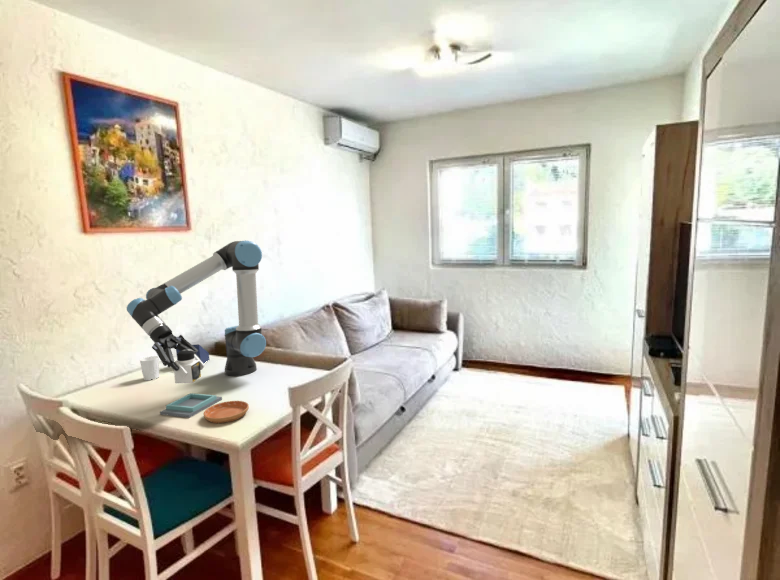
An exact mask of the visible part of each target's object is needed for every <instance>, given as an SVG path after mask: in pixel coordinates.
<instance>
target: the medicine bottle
mask: <svg viewBox="0 0 780 580" xmlns="http://www.w3.org/2000/svg"><path fill="white" fill-rule="evenodd" d="M177 358H178V362H179V364H180V365H181V366H182V367H183V368H184V369H185V370H186V371H187V374H186V376H185V377H184V378H182V377H181V375H180V374H179V373H178V372H177V371H175V370H174V369H173V374H174V383H175V384H190V383H191V384H192V383H194V382H196V381H197V380H199V379H200V378H201V377H202V374H201V373H202V371H201V370H200V362H199V360H195V357H194V351H193V350H182V351H180V352H178V353H176V359H177Z"/></svg>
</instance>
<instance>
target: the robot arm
mask: <svg viewBox="0 0 780 580" xmlns="http://www.w3.org/2000/svg"><path fill="white" fill-rule="evenodd" d="M262 252H263V251H262V249H261V247H260V246H259V245H258V244H257V243H256V242H254V241H250V240H245V239H244V240H236V241H235V240H234V241H231V242H229V243H228V244H226V245H224V246H223V247H221V248H220V249H218V250H216V251H214V252H213V253H212V256H210V257H208V258H207V259H205V260H203V261H201V262H199V263H197V264H196V265H194V266H192V267H190V268H188V269H187V270H185V271H183V272H181V273H180V274H178V275H176V276H175V277H173V278H171V279H169V280H167V281H165V282H163V283H162V284H160V285H158V286H157V287H152V288H150V289H149V290H148V291H146V293H145V299H144V298H142V297H137V298H134V299H133V300H131V301H130V302H128V304H127V305H126V312H128V314H129V315H130V317H131V318H132V319H133V320H134V321H135V322H136V324H137V325H138V326H139V327H140V328H141V329H142V330H143V331H144V333H146V335H147V336H149V338H150V339H151V340H152V341H153V342H154V343H153V345H152V346H151V349H152V350H153V351H154V352H155V353H156V355H157V357H158V359H159V360H160V362H161V363H162V365H163V366H165V367H166V366H167V367H168V368H172V369H173V371H174V370H175V371H177V372H178V373H179V374H180V375H181V377H182V378H184V377H185V376H186V374H187V371H186V370H185V369H184V368H183V367H182V366H181V365H180V364H179V362H178V361H177V360H175V359H174V355H173V351H172V349H174V350H176V349H178V350H180V351H182V350H193V351H194V357H195V360H199V362H200V371H201V370H203V369H204V367H205V366H206V364H204V363H203V362H202V361H201V359H200V358H199V357H198V356H197V355H196V353H197V352H198V350H197V349H196V348H195V347H194V346H193V345H194V344H192V343H190V342H189V341H188V340H187V339H186V338H185V337H184V336H183V335H182V334H180V335H178V336H175V335H174V334H173V331H172V329H171V328H170V327H169V326H168V325H167V324H166V322H165V321H164V320H163V319H162V318H161V317H160V316H159V315H160V314H162V313H164V312H165V311H167V310H168V309H170V308H172V307H173V306H175V305H177V304H178V303H179V302H181V301H182V300H183V297H182V293H184V292H186V291H187V290H189V289H191V288H193V287H194V286H196V285H198V284H199V283H202V282H203V281H206V279H208V278H210V277H212V276H213V275H215V274H216V273H219V272H220V271H222V270H223V271H226V270H229V269H230V268H232V270H231V271H232V272H234V274H235V275H236V293H237V297H236V298H237V310H238V311H237V315H238V316H237V317H238V325H235V326H230V327H226V328H225V329H224V340H225V342H224V343H225V349H226V362H225V366H224V374H225V375H226V376H231V377H233V376H234V377H237V376H245V375H248V374H251V373H254V372H255V371H257V369H258V368H257V363H256V361H255V359H254V358H255V357H258V356H260V355H261V354H263V353H264V351H265V350H266V347H267V340H266V337H265V336H264V335H263V329H262V326H261V325H260V324H259V318H258V316H259V315H258V296H257V276H256V273H257V272H258V271H259V270H260V269H259V268H260V267H259V264H260V262H261V261H262V257H263V253H262ZM176 345H177V346H176Z"/></svg>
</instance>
